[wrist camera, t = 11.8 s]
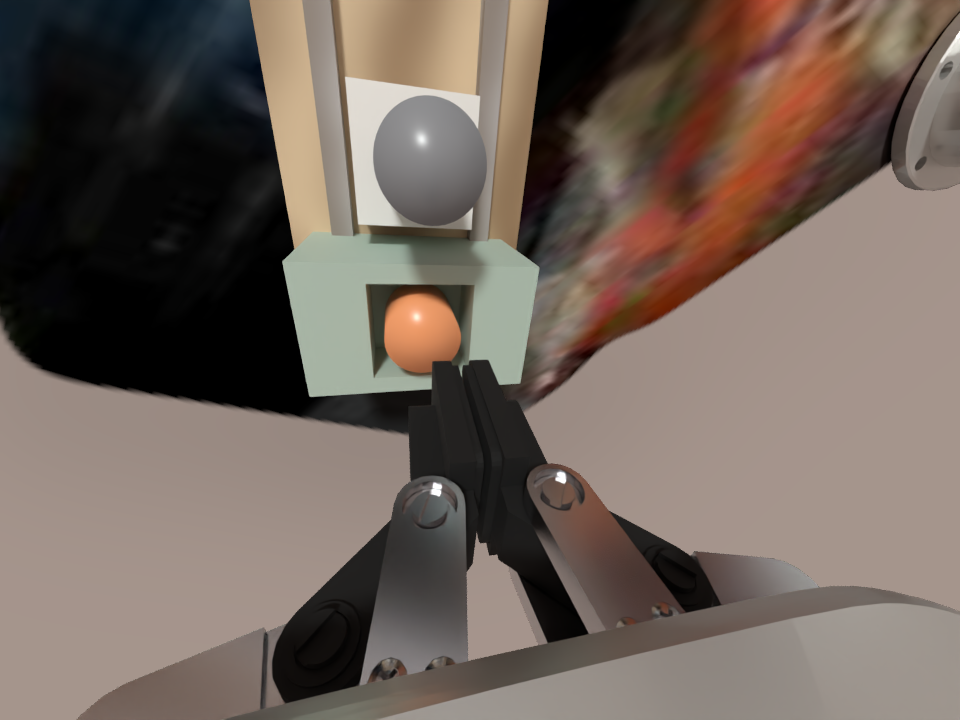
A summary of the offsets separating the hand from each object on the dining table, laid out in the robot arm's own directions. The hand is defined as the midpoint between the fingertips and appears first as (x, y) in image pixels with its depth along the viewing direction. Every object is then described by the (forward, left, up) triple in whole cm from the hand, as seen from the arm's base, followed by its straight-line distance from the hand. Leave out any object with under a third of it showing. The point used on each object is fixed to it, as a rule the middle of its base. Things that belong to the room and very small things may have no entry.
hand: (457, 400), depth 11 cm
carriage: (+1, -6, -11) cm, 13 cm away
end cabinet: (+1, 0, -13) cm, 13 cm away
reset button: (+1, 0, -8) cm, 8 cm away
